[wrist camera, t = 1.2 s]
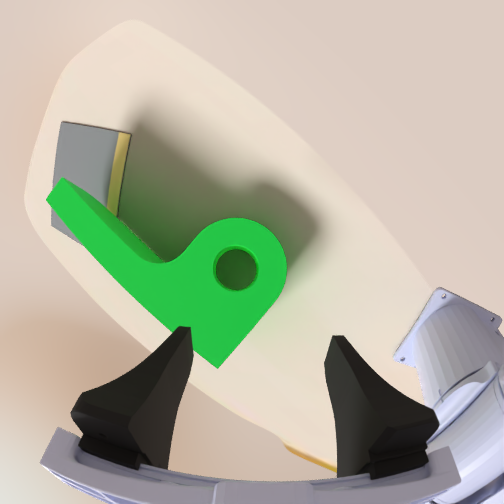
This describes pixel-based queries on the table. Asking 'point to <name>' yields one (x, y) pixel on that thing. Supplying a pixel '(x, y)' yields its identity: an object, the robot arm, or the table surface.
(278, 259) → the bracket
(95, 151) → the mat
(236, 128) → the table surface
